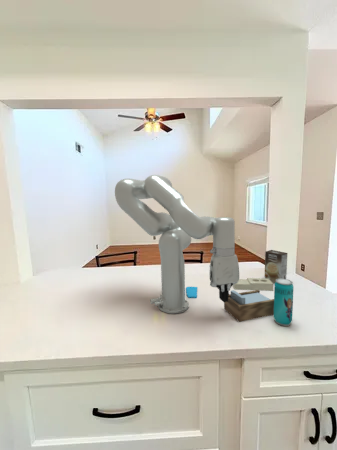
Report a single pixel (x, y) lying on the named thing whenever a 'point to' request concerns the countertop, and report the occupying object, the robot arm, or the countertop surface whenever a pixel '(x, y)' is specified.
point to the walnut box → (249, 308)
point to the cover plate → (247, 298)
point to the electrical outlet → (254, 284)
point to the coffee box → (275, 265)
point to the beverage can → (283, 302)
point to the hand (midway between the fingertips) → (223, 300)
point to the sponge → (191, 292)
